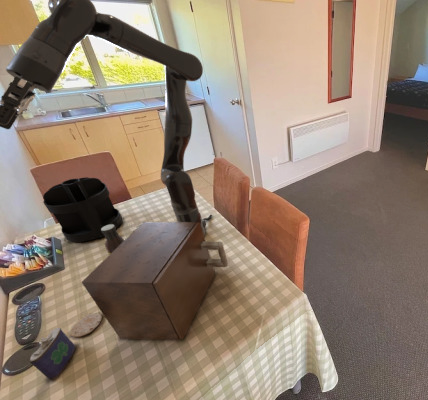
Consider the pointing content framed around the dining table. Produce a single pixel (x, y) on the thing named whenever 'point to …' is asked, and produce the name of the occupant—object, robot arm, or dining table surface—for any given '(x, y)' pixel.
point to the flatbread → (86, 325)
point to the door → (188, 278)
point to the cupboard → (137, 281)
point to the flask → (53, 354)
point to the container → (82, 208)
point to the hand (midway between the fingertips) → (0, 125)
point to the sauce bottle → (111, 238)
